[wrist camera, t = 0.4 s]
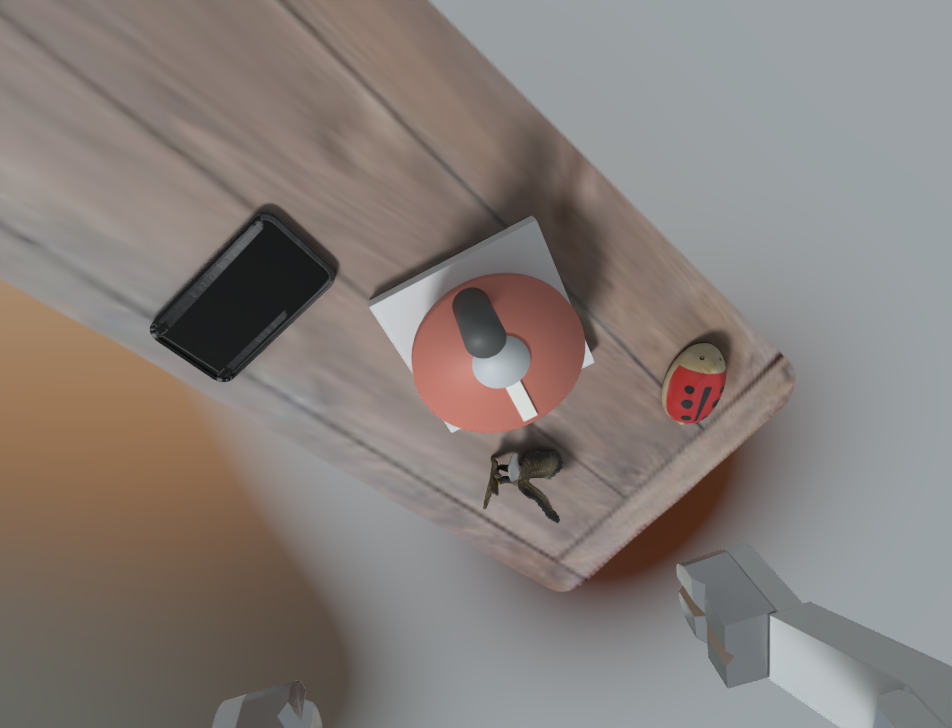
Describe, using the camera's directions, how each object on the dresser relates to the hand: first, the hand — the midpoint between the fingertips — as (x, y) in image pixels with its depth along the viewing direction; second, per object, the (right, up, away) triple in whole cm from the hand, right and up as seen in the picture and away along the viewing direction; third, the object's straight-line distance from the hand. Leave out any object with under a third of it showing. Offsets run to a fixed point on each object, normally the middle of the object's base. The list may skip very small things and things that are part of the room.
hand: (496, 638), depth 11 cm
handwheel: (+1, +7, +35) cm, 36 cm away
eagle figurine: (+5, -6, +49) cm, 49 cm away
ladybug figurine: (+23, +4, +47) cm, 52 cm away
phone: (-20, +11, +34) cm, 41 cm away
